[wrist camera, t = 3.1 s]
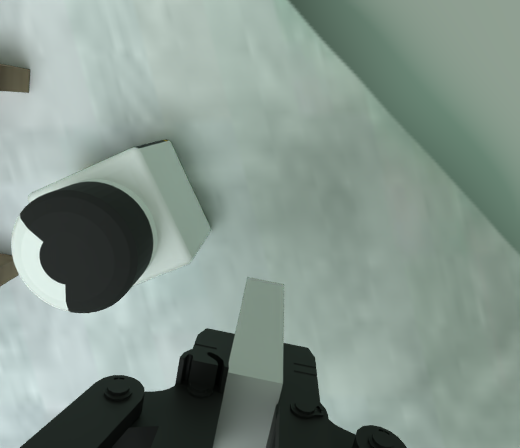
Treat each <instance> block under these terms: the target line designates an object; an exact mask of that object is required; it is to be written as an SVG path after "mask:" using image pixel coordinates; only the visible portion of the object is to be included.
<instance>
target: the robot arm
mask: <svg viewBox="0 0 520 448" xmlns="http://www.w3.org/2000/svg"><path fill="white" fill-rule="evenodd" d="M283 330H284V284H279V283H274V282H269V281H264V280H259V279H255V278H250V277H248V278H247V282H246V287H245V291H244V296H243V300H242V305H241V309H240V314H239V318H238V323H237V327H236V332H235V334H232V333H227V332H222V331H218V330H213V329H208V328H207V329H205V330H204V331H202V332H201V333H200V334H198V336H197V339H196V341H195V345H194V347H193V349H191V350H189V351H187V352H184V353H183V354H182V356H181V357H180V360H179V366H178V372H177V378H176V384H175V386H174V387H172V388H170V389H167V390H163V391H155V392H144V387H143V385H142V384H141V383H140V382H139V381H138V380H136V379H134V378H132V377H128V376H124V375H113V376H109V377H105V378H103V379H101V380H99V381H98V382H96V383H95V384H93V385H92V386H91V387H90V388H89V389H88V390H86V391H85V392H84V393H83V394H82V395H81V396H79V397H78V398H77V399H76V400H75V401H74V402H72V403H71V404H70V405H69V406H68V407H67V408H65V409H64V410H63V411H62V412H61V413H60V414H58V415H57V416H56V417H55V418H54V419H53V420H51V421H50V422H49V423H48V424H47V425H46V426H44V427H43V428H42V429H41V430H40V431H39V432H37V433H36V434H35V435H34V436H33V437H32V438H30V439H29V440H28V441H27V442H26V443H25V444H23V445H22V446H21V447H20V448H407V447H406V446H405V444H404V443H403V442H402V441H401V440H400V439H399V437H397V436H396V435H395V434H393V433H392V432H390V431H388V430H386V429H384V428H382V427H378V426H372V425H369V426H363V427H361V428H360V429H358V430H357V433H356V435H355V434H353V433H351V432H348V431H346V430H344V429H342V428H340V427H338V426H336V425H335V424H334V423H332V422H331V421H330V420H329V419H328V414H327V411H326V409H325V408H324V407H323V405H322V404H321V403H320V397H319V389H318V380H317V371H316V362H315V357H314V356H313V354H312V353H311V351H310V350H309V349H308V348H306V347H301V346H296V345H291V344H286V343H283Z"/></svg>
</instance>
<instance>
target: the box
mask: <svg viewBox="0 0 520 448" xmlns="http://www.w3.org/2000/svg"><path fill="white" fill-rule="evenodd" d="M29 77H30V70H29V69H24V68H19V67H14V66H9V65H5V64H0V91H11V92H26V93H29ZM16 276H18V271H17V269H16V266H15V264H14V261H13V256H11V255H7V254H2V253H0V286H2V285H3V284H5V283H7V282H8V281H10V280H11V279H13V278H15V277H16Z"/></svg>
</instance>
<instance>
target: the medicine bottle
mask: <svg viewBox="0 0 520 448" xmlns="http://www.w3.org/2000/svg"><path fill="white" fill-rule="evenodd" d="M28 202H29V204H28V205H27V206H26V207H25V208H24V209H23V211H22V212H21V213H20V215H19V216H18V218H17V220H16V222H15V225H14V228H13V232H12V237H11V250H12V256H13V261H14V264H15V266H16V269H17V271H18V273H19V275H20V277H21V279H22V280H23V282H24V283H25V284H26V286H27V287H28V288H29V289H30V290H31V291H32V292H33V293H34V294H35V295H36V296H37V297H39V298H40V299H41V300H43V301H44V302H46V303H47V304H49V305H51V306H53V307H55V308H58V309H61V310H64V311H68V312H74V313H91V312H97V311H100V310H103V309H106V308H108V307H110V306H112V305H113V304H115V303H116V302H118V301H119V300H120V299H121V298H122V297H123V296H124V295H125V294H126V293H127V292H128V291H129V289H130V288H131V287H133V286H135V285H138V284H140V283H143V282H145V281H148V280H150V279H153V278H155V277H158V276H160V275H163V274H165V273H168V272H170V271H173V270H176V269H178V268H181V267H183V266H186V265H188V264H190V263H191V262H192V260H193V259H194V257H195V255H196V254H197V252H198V251H199V249H200V247H201V246H202V244H203V243H204V241H205V239H206V238H207V236H208V235H209V233H210V231H211V228H210V226H209V223H208V221H207V219H206V217H205V215H204V213H203V210H202V208H201V206H200V204H199V202H198V200H197V198H196V195H195V193H194V191H193V189H192V187H191V185H190V183H189V180H188V178H187V176H186V174H185V172H184V170H183V167H182V165H181V163H180V161H179V159H178V157H177V155H176V152H175V150H174V148H173V146H172V144H171V142H170V141H169V140H167V139H166V140H161V141H157V142H153V143H149V144H145V145H141V146H137V147H133V148H130V149H128V150H126V151H123V152H121V153H119V154H117V155H115V156H112V157H110V158H108V159H106V160H103V161H101V162H99V163H97V164H95V165H92V166H90V167H88V168H86V169H83V170H81V171H79V172H77V173H75V174H72V175H70V176H68V177H66V178H63V179H61V180H59V181H57V182H55V183H52V184H50V185H48V186H46V187H43V188H41V189H39V190H37V191H34V192H32V193H31V194H30V195H29V196H28Z"/></svg>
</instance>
